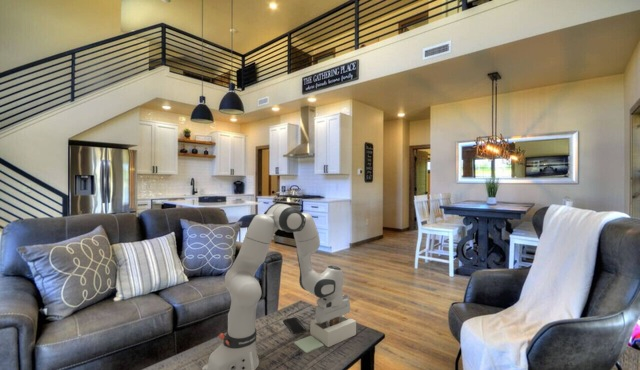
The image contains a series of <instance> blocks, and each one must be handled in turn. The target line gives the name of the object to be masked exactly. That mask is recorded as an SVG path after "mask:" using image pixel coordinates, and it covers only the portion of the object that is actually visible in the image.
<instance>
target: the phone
mask: <svg viewBox="0 0 640 370" xmlns="http://www.w3.org/2000/svg"><path fill="white" fill-rule="evenodd" d="M282 322H283V323H284V325H285V327H286V328H287V329H288V330H289V331H290V333H291V334H292V335H293V336H294V335H299V334H304V333H307V327H305V326H304V324H303V323H302V322H301V321H300V320H299V319H298V317H296V316H295V317H290V318H285V319H283V320H282Z"/></svg>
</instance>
